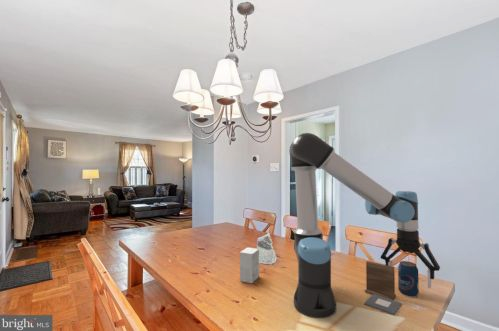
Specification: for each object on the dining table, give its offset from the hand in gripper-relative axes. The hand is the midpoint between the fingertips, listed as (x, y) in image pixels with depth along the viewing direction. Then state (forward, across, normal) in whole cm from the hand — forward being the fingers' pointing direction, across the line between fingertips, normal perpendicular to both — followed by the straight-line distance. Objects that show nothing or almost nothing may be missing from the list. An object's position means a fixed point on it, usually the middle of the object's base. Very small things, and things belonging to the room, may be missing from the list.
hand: (409, 281), depth 100 cm
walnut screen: (+4, +8, +9) cm, 13 cm away
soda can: (+5, 0, 0) cm, 5 cm away
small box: (+4, +56, +35) cm, 67 cm away
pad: (+4, +5, +17) cm, 18 cm away
